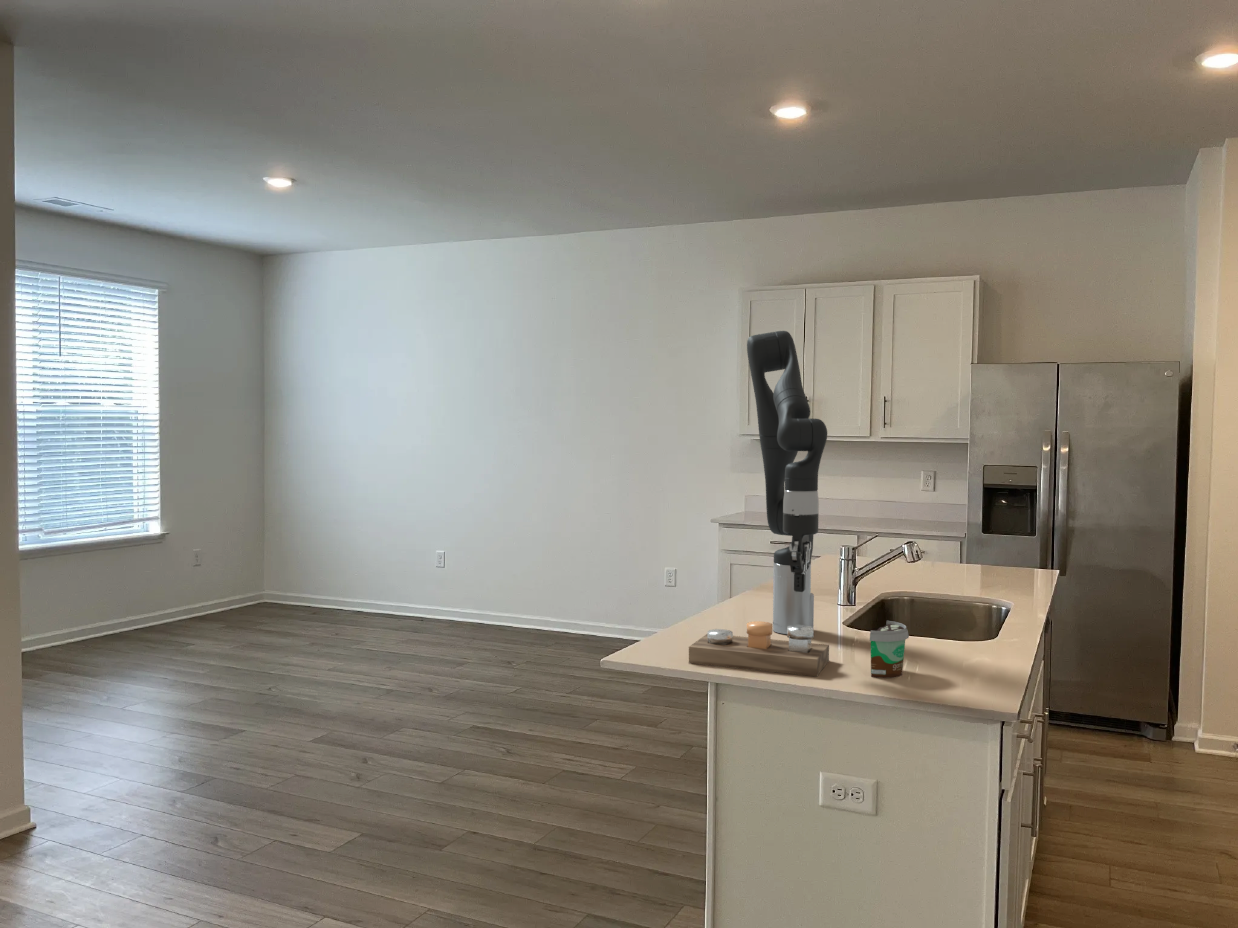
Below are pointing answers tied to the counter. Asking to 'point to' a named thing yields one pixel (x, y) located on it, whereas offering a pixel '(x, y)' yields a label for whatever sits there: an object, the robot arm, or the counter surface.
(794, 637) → the knob
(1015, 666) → the counter surface
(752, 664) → the knob mount
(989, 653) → the counter surface
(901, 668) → the food container
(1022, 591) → the counter surface
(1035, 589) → the counter surface
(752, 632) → the knob mid
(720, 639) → the knob
